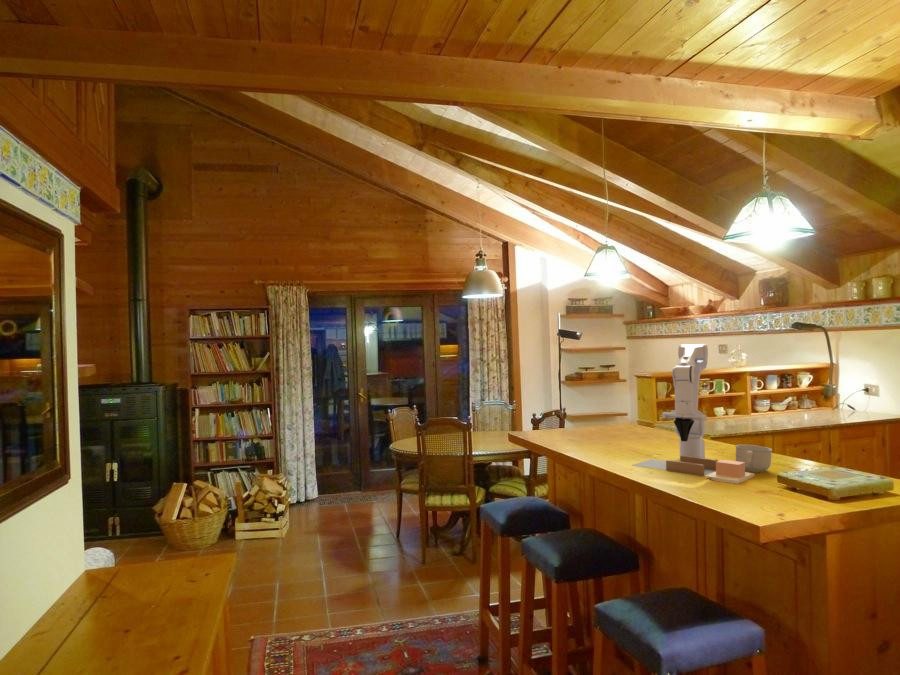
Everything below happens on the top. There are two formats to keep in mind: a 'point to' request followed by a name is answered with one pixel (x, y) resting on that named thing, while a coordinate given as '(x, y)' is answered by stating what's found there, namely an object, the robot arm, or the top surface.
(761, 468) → the teacup
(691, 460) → the tunnel board
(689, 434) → the robot arm
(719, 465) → the terracotta block
